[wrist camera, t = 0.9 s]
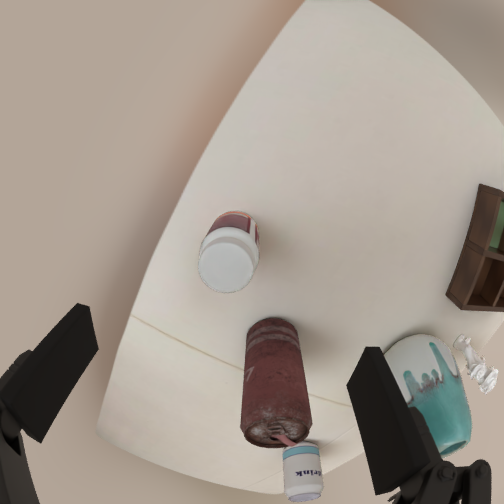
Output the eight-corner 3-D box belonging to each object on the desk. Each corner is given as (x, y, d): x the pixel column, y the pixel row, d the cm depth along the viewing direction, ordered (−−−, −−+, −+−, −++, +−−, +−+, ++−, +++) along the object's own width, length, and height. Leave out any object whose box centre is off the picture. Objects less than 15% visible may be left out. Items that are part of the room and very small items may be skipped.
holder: (479, 183, 24) (499, 189, 20) (529, 212, 24) (545, 219, 20) (445, 295, 29) (460, 310, 26) (500, 300, 30) (513, 312, 26)
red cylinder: (274, 362, 33) (278, 456, 20) (236, 337, 32) (224, 436, 19) (309, 335, 32) (330, 432, 18) (271, 306, 30) (276, 408, 17)
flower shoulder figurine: (441, 345, 33) (477, 398, 21) (457, 326, 31) (497, 376, 20) (464, 356, 34) (495, 401, 23) (478, 339, 33) (512, 383, 21)
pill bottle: (201, 231, 27) (179, 265, 19) (236, 200, 26) (226, 223, 18) (233, 264, 28) (224, 309, 21) (269, 235, 27) (272, 272, 19)
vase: (360, 387, 35) (391, 487, 19) (377, 328, 31) (434, 442, 14) (422, 374, 35) (464, 457, 18) (445, 317, 31) (511, 403, 14)
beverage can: (323, 439, 41) (331, 491, 30) (309, 454, 44) (314, 501, 32) (289, 437, 41) (292, 493, 29) (277, 452, 43) (279, 502, 32)
